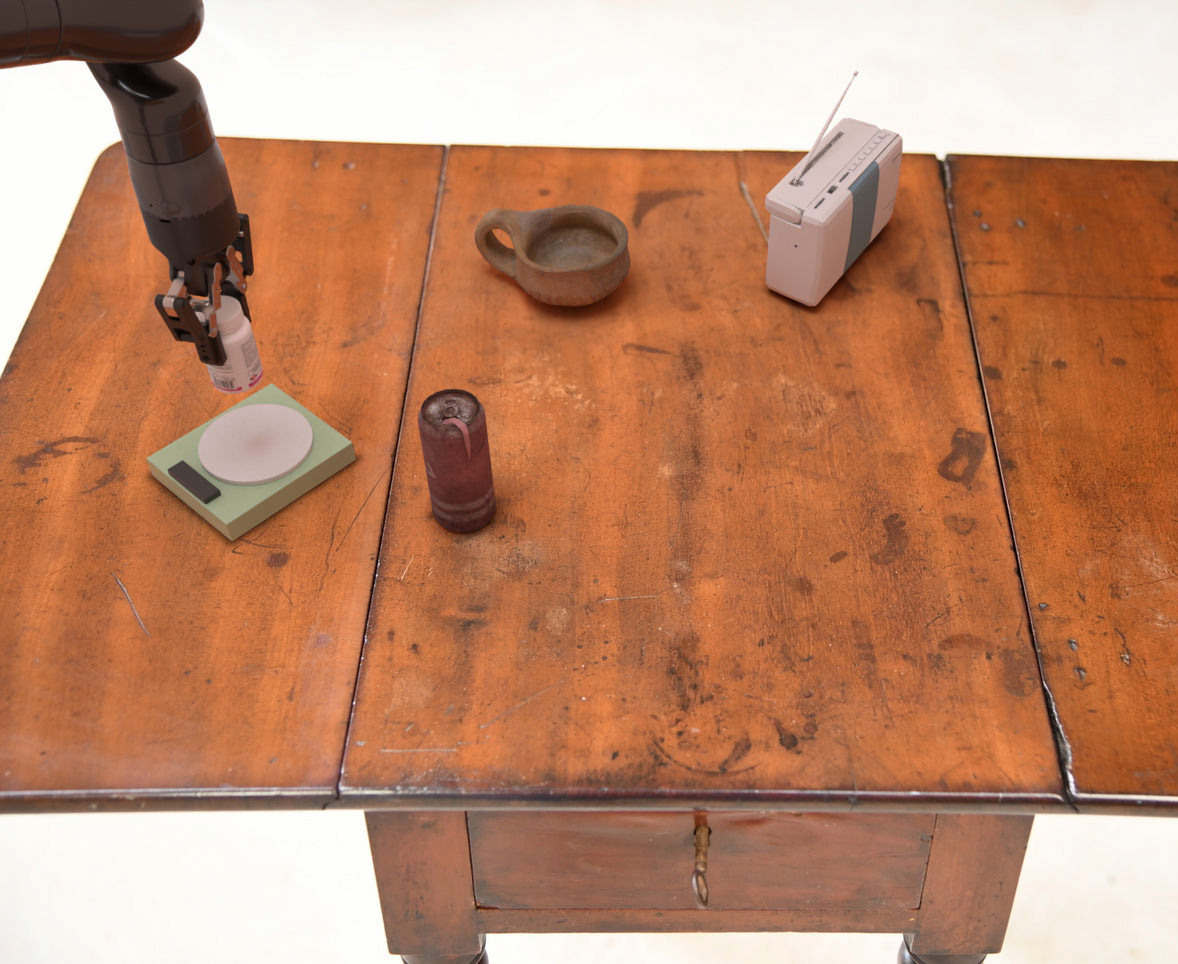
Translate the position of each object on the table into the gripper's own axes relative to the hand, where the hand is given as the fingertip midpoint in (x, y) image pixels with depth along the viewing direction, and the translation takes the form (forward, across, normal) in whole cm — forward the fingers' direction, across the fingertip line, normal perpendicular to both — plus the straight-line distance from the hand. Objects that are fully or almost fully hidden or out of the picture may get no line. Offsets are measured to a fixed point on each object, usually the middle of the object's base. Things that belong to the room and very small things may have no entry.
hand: (227, 343), depth 128 cm
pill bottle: (+5, 0, 0) cm, 5 cm away
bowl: (+16, -35, +21) cm, 44 cm away
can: (+16, +2, +22) cm, 27 cm away
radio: (+16, -47, +51) cm, 72 cm away
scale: (+16, 0, -1) cm, 16 cm away
